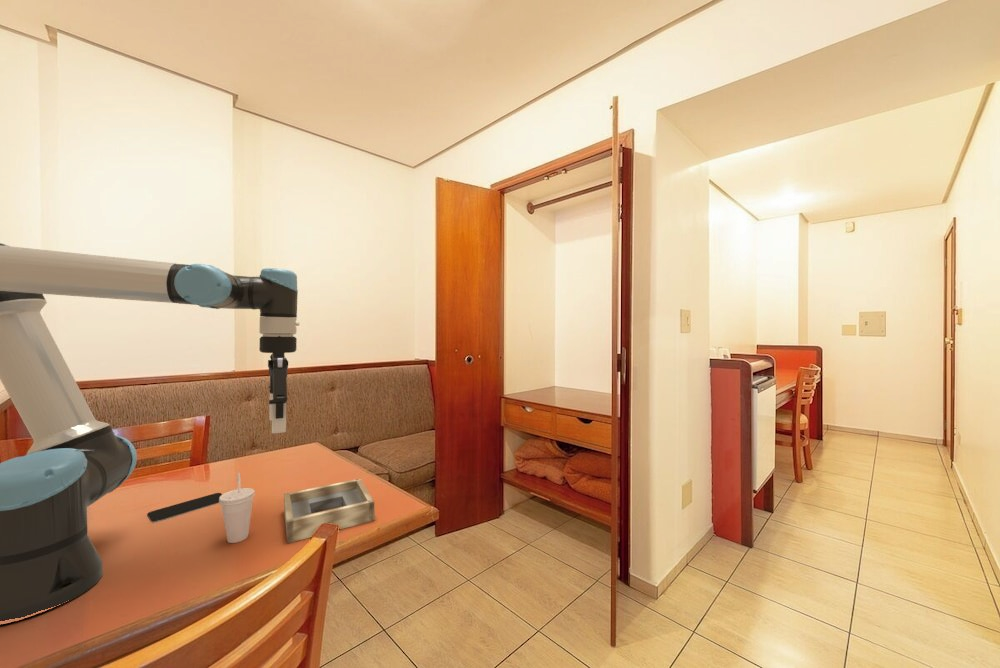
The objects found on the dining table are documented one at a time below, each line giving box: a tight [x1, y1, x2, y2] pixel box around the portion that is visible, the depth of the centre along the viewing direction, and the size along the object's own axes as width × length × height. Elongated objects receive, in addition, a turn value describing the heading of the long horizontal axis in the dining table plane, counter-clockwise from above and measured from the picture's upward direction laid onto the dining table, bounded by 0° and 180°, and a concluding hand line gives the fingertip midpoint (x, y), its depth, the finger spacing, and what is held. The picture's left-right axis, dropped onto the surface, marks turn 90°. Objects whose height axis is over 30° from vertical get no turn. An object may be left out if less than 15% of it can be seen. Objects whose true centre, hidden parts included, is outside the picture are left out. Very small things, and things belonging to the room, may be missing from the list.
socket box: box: [283, 478, 375, 544], centre depth 92 cm, size 18×16×4 cm
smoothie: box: [218, 472, 256, 544], centre depth 82 cm, size 6×6×14 cm
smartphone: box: [146, 492, 223, 523], centre depth 97 cm, size 7×1×15 cm
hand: (277, 425), depth 90 cm, fingers open, 13 cm apart
